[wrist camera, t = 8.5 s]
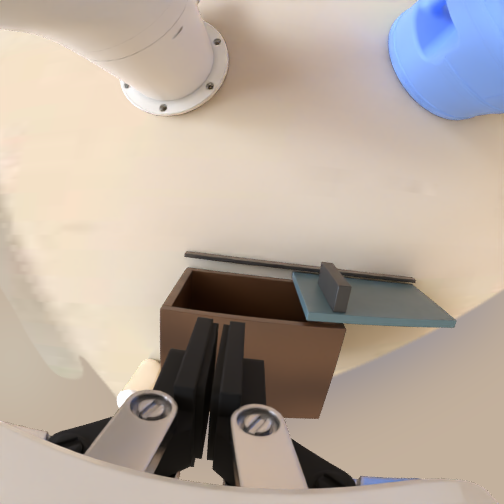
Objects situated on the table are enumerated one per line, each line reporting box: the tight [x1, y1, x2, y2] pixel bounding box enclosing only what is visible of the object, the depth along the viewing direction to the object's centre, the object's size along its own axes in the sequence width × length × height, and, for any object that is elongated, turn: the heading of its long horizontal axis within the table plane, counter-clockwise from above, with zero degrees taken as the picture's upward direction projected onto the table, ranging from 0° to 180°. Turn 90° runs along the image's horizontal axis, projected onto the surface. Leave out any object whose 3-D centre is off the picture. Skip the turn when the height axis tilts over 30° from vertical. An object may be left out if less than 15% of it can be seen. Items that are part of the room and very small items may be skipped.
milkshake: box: [117, 359, 161, 408], centre depth 35 cm, size 5×5×10 cm
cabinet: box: [160, 251, 416, 419], centre depth 32 cm, size 12×28×12 cm, turn 83°
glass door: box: [292, 262, 456, 328], centre depth 31 cm, size 3×16×11 cm, turn 83°
